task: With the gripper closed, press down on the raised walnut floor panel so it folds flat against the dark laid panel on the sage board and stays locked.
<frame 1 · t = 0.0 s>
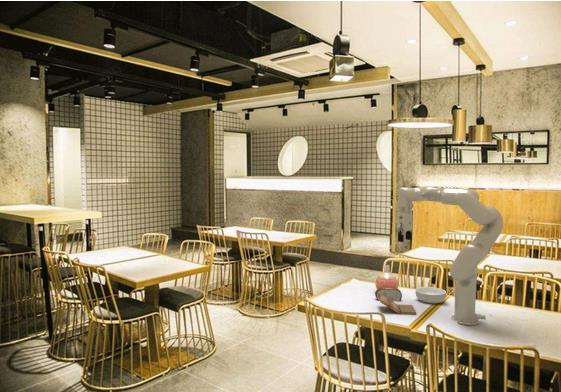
hand: (404, 240, 223), 37 cm above the table, tool pointing down, fingers open, 9 cm apart
floor board: (393, 312, 216), on the table
tin: (388, 302, 234), on the table
panel: (389, 303, 216), point 5 cm above the table, hinge at 30.0°
vase: (386, 293, 250), on the table
cereal bowl: (430, 302, 233), on the table
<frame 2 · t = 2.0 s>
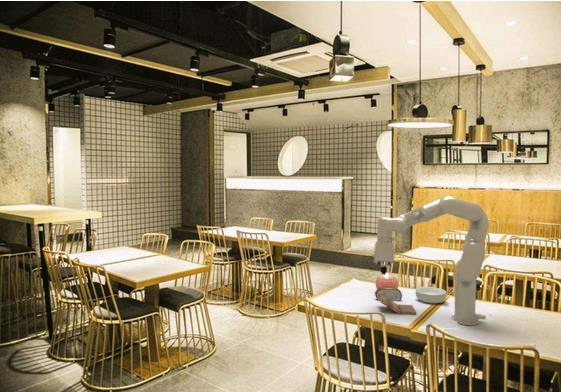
hand: (383, 273, 216), 21 cm above the table, tool pointing down, fingers closed
nothing on the table moved.
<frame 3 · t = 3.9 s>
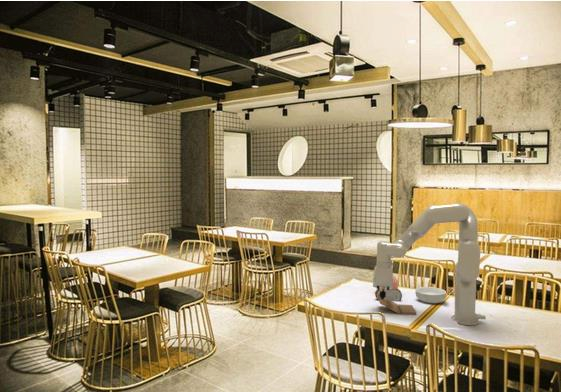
hand: (382, 298, 217), 7 cm above the table, tool pointing down, fingers closed
panel: (389, 304, 216), point 4 cm above the table, hinge at 26.8°, touching gripper
everything else where it was.
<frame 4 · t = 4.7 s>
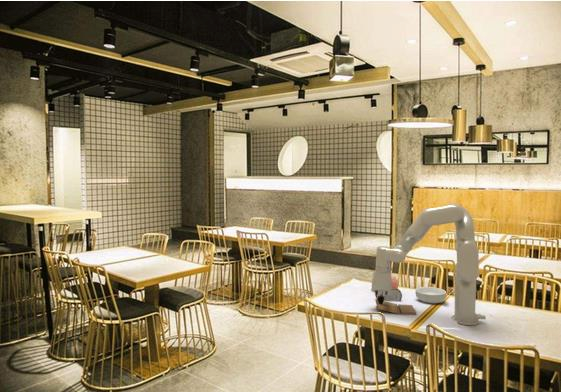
hand: (380, 302, 217), 5 cm above the table, tool pointing down, fingers closed
panel: (387, 306, 216), point 3 cm above the table, hinge at 11.4°, touching gripper
everything else where it was.
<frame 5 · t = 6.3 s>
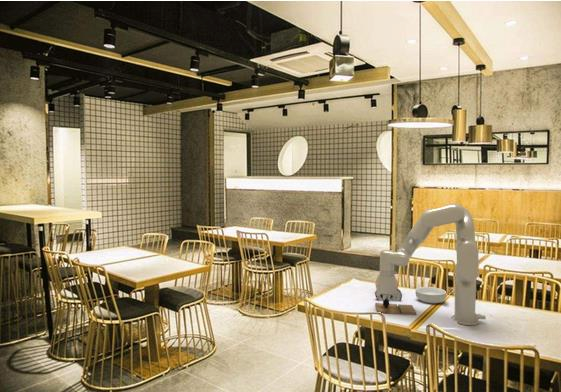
hand: (386, 306, 217), 3 cm above the table, tool pointing down, fingers closed
panel: (387, 308, 217), point 2 cm above the table, hinge at 0.8°
everything else where it was.
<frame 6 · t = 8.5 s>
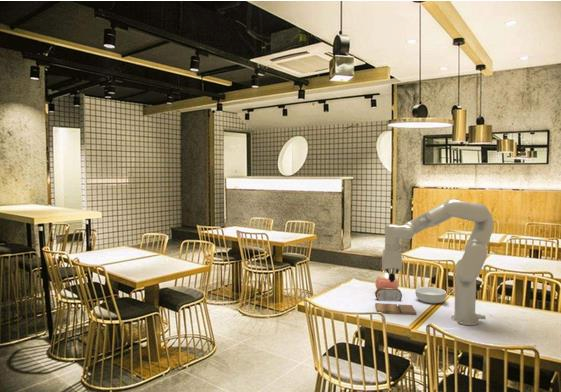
hand: (391, 281, 215), 17 cm above the table, tool pointing down, fingers closed
panel: (387, 308, 217), point 2 cm above the table, hinge at 0.4°
everything else where it was.
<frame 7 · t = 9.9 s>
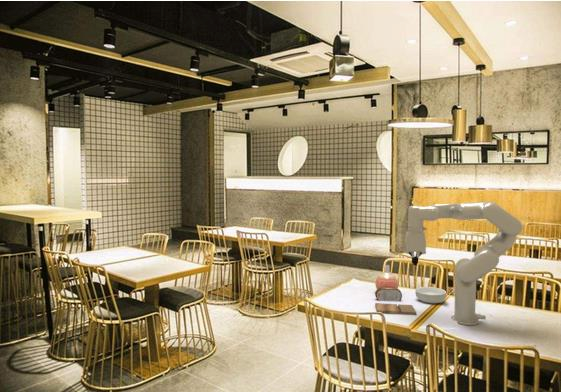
hand: (414, 264, 209), 27 cm above the table, tool pointing down, fingers closed
nothing on the table moved.
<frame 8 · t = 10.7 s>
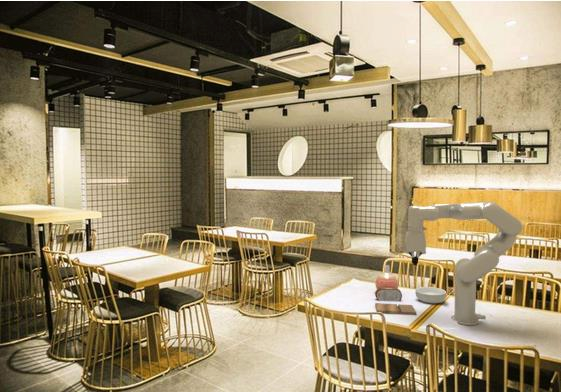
hand: (414, 264, 209), 27 cm above the table, tool pointing down, fingers closed
nothing on the table moved.
at the end: panel at +0° (first picture: +30°) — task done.
